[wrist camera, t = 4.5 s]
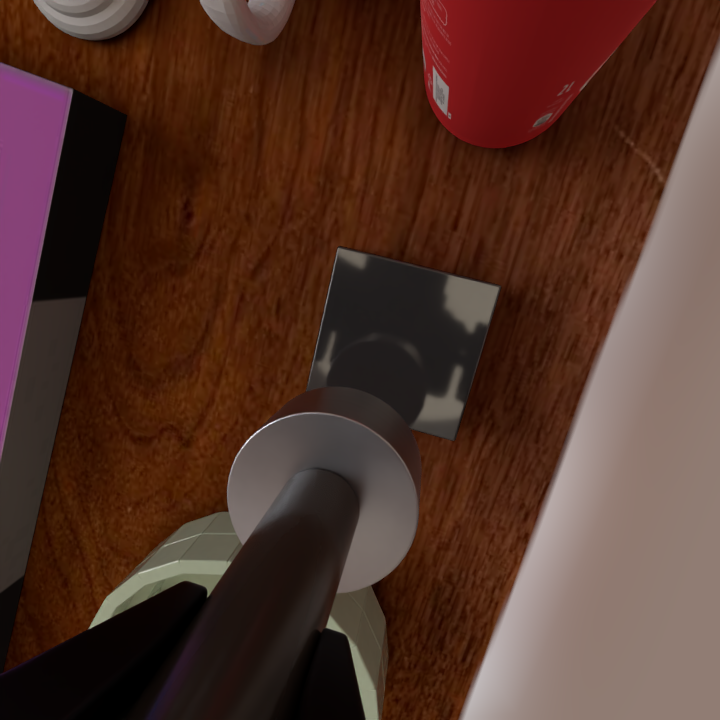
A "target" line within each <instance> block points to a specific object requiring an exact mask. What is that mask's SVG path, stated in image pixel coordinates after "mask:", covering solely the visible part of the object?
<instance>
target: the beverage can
mask: <svg viewBox="0 0 720 720" xmlns="http://www.w3.org/2000/svg"><path fill="white" fill-rule="evenodd" d="M656 1H657V0H420V7H421V26H422V45H423V64H424V81H425V88H426V93H427V97H428V100H429V103H430V105H431V107H432V109H433V111H434V113H435V115H436V117H437V118H438V119H439V121H440V122H441V123H442V125H443V126H444V127H445V128H446V129H447V130H448V131H449V132H451V133H452V134H453V135H455V136H456V137H457V138H459V139H461V140H463V141H465V142H467V143H469V144H472V145H475V146H479V147H484V148H505V147H511V146H515V145H518V144H521V143H524V142H526V141H529V140H531V139H533V138H534V137H536V136H538V135H539V134H541V133H542V132H544V131H545V130H546V129H548V128H549V127H550V126H551V125H552V124H553V123H554V122H555V121H556V120H557V119H558V118H559V117H560V116H561V115H562V113H563V112H564V111H565V110H566V109H567V107H568V106H569V105H570V104H571V103H572V101H573V100H574V99H575V98H576V97H577V95H578V94H579V93H580V92H581V91H582V89H583V88H584V87H585V86H586V85H587V83H588V82H589V81H590V80H591V79H592V78H593V76H594V75H595V74H596V73H597V72H598V70H599V69H600V68H601V67H602V66H603V64H604V63H605V62H606V61H607V60H608V58H609V57H610V56H611V55H612V54H613V52H614V51H615V50H616V49H617V48H618V46H619V45H620V44H621V43H622V42H623V40H624V39H625V38H626V37H627V36H628V34H629V33H630V32H631V31H632V30H633V29H634V27H635V26H636V25H637V24H638V23H639V21H640V20H641V19H642V18H643V17H644V15H645V14H646V13H647V12H648V11H649V9H650V8H651V7H652V6H653V5H654V3H655V2H656Z"/></svg>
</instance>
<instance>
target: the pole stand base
mask: <svg viewBox="0 0 720 720" xmlns="http://www.w3.org/2000/svg"><path fill="white" fill-rule="evenodd" d="M500 291H501V286H500V285H498V284H495V283H491V282H487V281H483V280H478V279H474V278H470V277H466V276H462V275H458V274H454V273H450V272H446V271H442V270H438V269H433V268H429V267H425V266H421V265H417V264H413V263H409V262H405V261H401V260H397V259H392V258H388V257H384V256H380V255H376V254H372V253H368V252H364V251H360V250H356V249H351V248H347V247H342V246H338V248H337V252H336V256H335V261H334V265H333V270H332V274H331V279H330V283H329V288H328V293H327V297H326V302H325V306H324V311H323V315H322V320H321V324H320V329H319V333H318V338H317V342H316V347H315V352H314V356H313V361H312V365H311V370H310V374H309V379H308V383H307V388H306V392H307V391H311V390H314V389H318V388H324V387H347V388H352V389H357V390H360V391H363V392H366V393H369V394H371V395H373V396H375V397H377V398H379V399H380V400H382V401H383V402H385V403H386V404H388V405H389V406H390V407H391V408H393V409H394V410H395V411H396V412H397V413H398V414H399V415H400V416H401V417H402V419H403V420H404V421H405V422H406V424H407V425H408V427H409V428H410V429H411V430H415V431H419V432H422V433H426V434H429V435H433V436H437V437H440V438H444V439H447V440H451V441H455V440H456V437H457V433H458V430H459V427H460V423H461V420H462V417H463V413H464V410H465V407H466V403H467V400H468V397H469V393H470V390H471V387H472V383H473V380H474V377H475V374H476V370H477V367H478V364H479V360H480V357H481V354H482V350H483V347H484V344H485V340H486V337H487V334H488V330H489V327H490V324H491V320H492V317H493V314H494V311H495V307H496V304H497V301H498V297H499V294H500Z"/></svg>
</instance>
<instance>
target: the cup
mask: <svg viewBox="0 0 720 720" xmlns="http://www.w3.org/2000/svg"><path fill="white" fill-rule="evenodd" d="M199 1H200V3H201V5H202V6H203V8H204V10H205V11H206V13H207V14H208V15H209V17H210V18H211V19H212V20H213V21H214V22H215V23H216V24H217V25H218V26H219V27H220V28H221V29H222V30H223V31H224V32H226V33H228V34H229V35H231V36H233V37H235V38H237V39H239V40H241V41H244V42H247V43H250V44H253V45H265V44H268V43H270V42H272V41H274V40H275V39H276V38H277V37H278V35H279V34H280V32H281V31H282V29H283V28H284V26H285V24H286V22H287V20H288V18H289V16H290V13H291V11H292V8H293V5H294V2H295V0H249V2H248V4H247V2H246V0H199Z"/></svg>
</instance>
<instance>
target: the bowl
mask: <svg viewBox="0 0 720 720" xmlns="http://www.w3.org/2000/svg"><path fill="white" fill-rule="evenodd" d="M242 546H243V545H242V543H241V542H240V540H239V538H238V536H237V534H236V532H235V530H234V527H233V525H232V522H231V518H230V515H229V512H218V513H215V514H212V515H209V516H206V517H203V518H200V519H197V520H194V521H191V522H188V523H185V524H184V525H182V526H181V527H180V528H179V529H177V530H176V531H175V532H174V533H172V534H171V535H170V536H169V537H167V538H166V539H165V540H164V541H162V542H161V543H160V544H159V545H158V546H157V547H156V548H155V549H154V550H153V551H152V552H151V553H150V554H149V555H148V556H147V557H146V558H145V559H144V560H143V561H142V562H141V563H140V564H139V565H138V566H137V567H136V568H135V569H134V570H133V571H132V572H131V573H130V574H129V575H128V576H127V577H126V578H125V579H124V580H123V581H122V582H121V583H120V584H119V585H118V586H117V587H116V588H115V589H114V590H113V591H112V592H111V593H110V594H109V595H108V596H107V597H106V598H105V600H104V602H103V603H102V605H101V607H100V609H99V611H98V612H97V614H96V616H95V618H94V620H93V621H92V623H91V625H90V627H89V629H90V628H92V627H94V626H96V625H98V624H100V623H102V622H104V621H106V620H108V619H110V618H111V617H113V616H115V615H117V614H119V613H121V612H123V611H125V610H127V609H129V608H131V607H133V606H135V605H137V604H139V603H141V602H143V601H145V600H147V599H149V598H150V597H152V596H154V595H156V594H158V593H160V592H162V591H164V590H166V589H168V588H170V587H172V586H174V585H176V584H178V583H180V582H182V581H190V582H193V583H196V584H199V585H202V586H204V587H206V589H207V592H208V595H207V597H208V596H209V594H210V593H211V592H212V590H213V589H214V587H215V586H216V584H217V583H218V581H219V580H220V578H221V577H222V576H223V574H224V573H225V571H226V570H227V568H228V567H229V565H230V564H231V562H232V561H233V560H234V558H235V557H236V555H237V554H238V552H239V551H240V549H241V548H242ZM326 628H329V629H332V630H335V631H338V632H341V633H344V634H345V635H346V636H347V637H348V640H349V644H350V649H351V653H352V658H353V663H354V667H355V672H356V676H357V681H358V686H359V690H360V695H361V699H362V704H363V708H364V713H365V718H366V720H381V718H382V710H383V701H384V692H385V684H386V675H387V666H388V657H389V656H388V643H387V630H386V621H385V617H384V614H383V612H382V610H381V607H380V605H379V603H378V601H377V598H376V596H375V594H374V591H373V589H372V587H371V585H370V586H368V587H365V588H362V589H360V590H356V591H351V592H347V593H336V597H335V600H334V603H333V607H332V610H331V613H330V617H329V620H328V623H327V627H326Z"/></svg>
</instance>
